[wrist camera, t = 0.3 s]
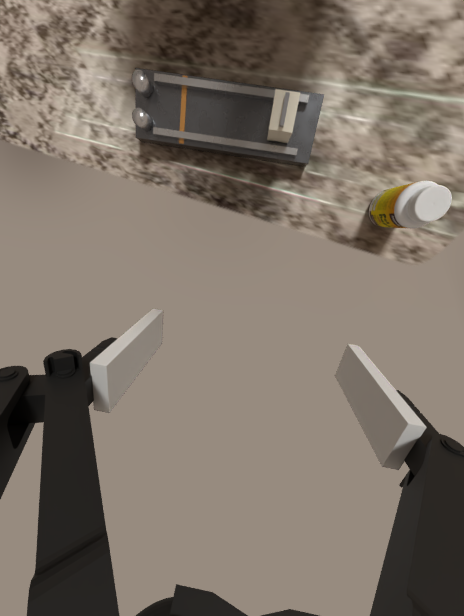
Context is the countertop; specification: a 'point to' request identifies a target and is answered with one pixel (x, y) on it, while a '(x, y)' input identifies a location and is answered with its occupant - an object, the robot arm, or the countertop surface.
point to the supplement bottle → (410, 205)
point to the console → (219, 117)
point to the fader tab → (283, 115)
